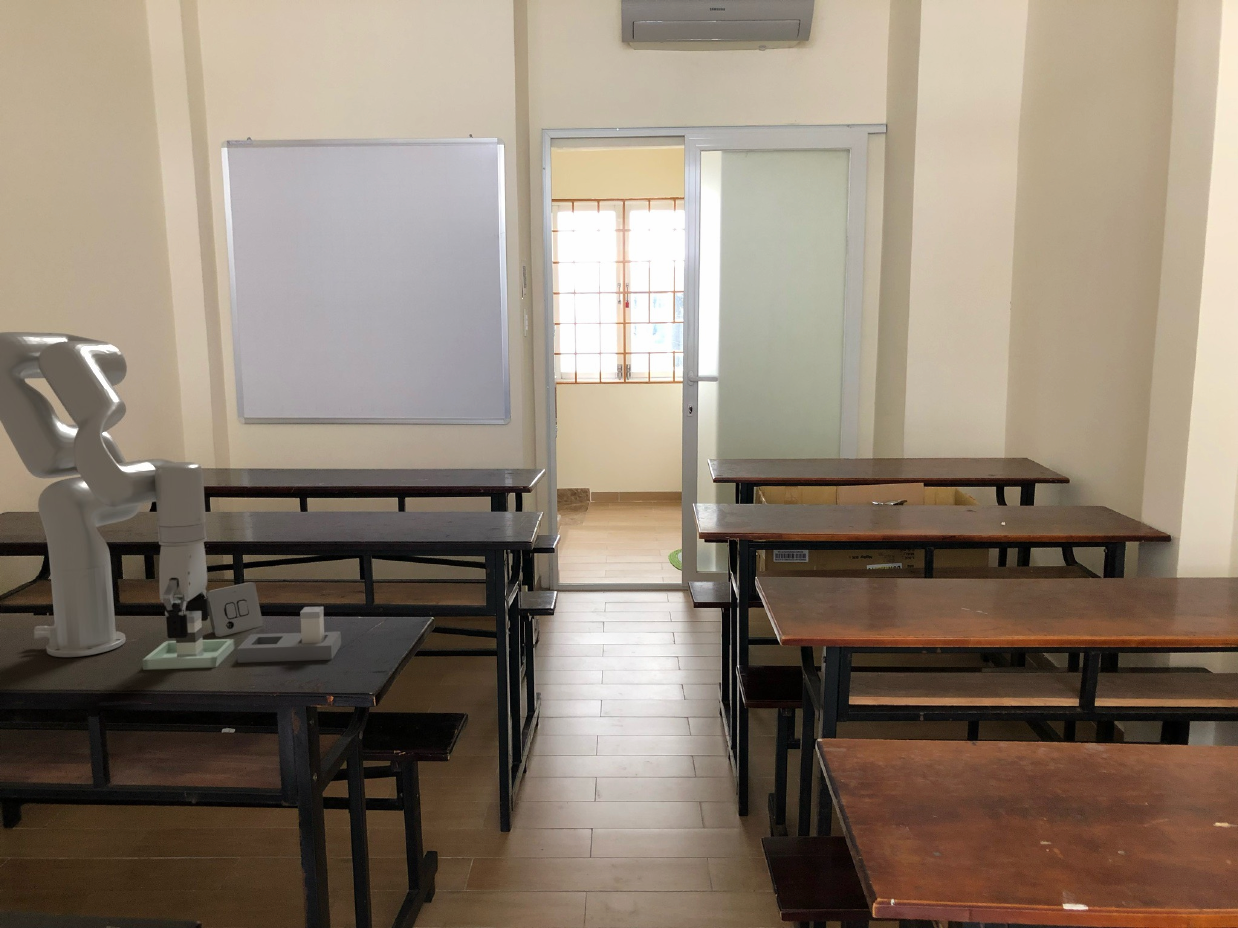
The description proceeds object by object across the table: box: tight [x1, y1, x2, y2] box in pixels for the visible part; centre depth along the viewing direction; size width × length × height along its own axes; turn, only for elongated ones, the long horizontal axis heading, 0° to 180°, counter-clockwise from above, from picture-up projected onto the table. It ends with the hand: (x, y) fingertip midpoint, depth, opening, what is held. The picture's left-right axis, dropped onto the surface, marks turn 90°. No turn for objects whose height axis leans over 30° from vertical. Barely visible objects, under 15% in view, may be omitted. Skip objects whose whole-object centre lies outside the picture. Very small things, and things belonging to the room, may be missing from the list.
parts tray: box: [142, 638, 235, 671], centre depth 158 cm, size 12×10×2 cm
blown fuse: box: [175, 610, 204, 657], centre depth 158 cm, size 3×3×8 cm
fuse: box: [299, 606, 325, 643], centre depth 161 cm, size 3×3×8 cm
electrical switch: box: [205, 581, 264, 638], centre depth 175 cm, size 9×5×9 cm, turn 141°
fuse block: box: [236, 631, 342, 664], centre depth 161 cm, size 16×8×3 cm, turn 96°
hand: (188, 628), depth 157 cm, fingers open, 9 cm apart
